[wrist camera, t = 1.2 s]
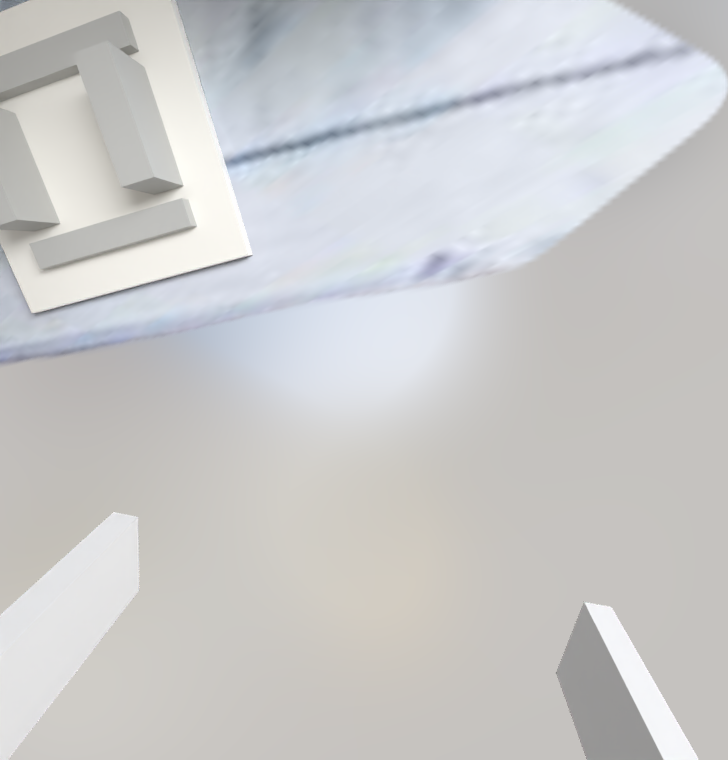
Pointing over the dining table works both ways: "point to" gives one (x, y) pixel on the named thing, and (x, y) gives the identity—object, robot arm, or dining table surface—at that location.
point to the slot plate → (107, 152)
